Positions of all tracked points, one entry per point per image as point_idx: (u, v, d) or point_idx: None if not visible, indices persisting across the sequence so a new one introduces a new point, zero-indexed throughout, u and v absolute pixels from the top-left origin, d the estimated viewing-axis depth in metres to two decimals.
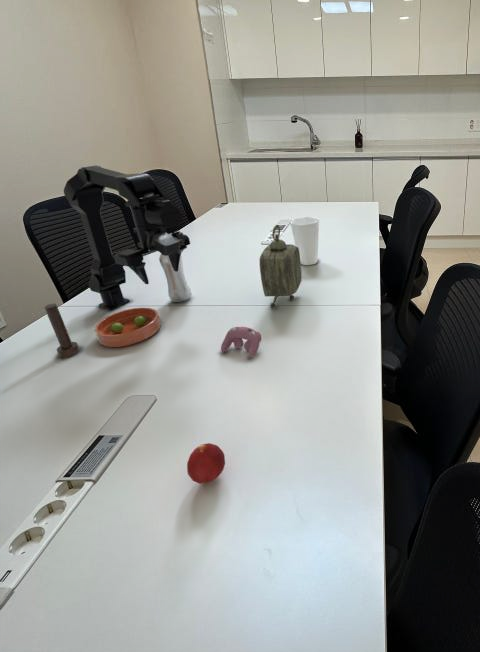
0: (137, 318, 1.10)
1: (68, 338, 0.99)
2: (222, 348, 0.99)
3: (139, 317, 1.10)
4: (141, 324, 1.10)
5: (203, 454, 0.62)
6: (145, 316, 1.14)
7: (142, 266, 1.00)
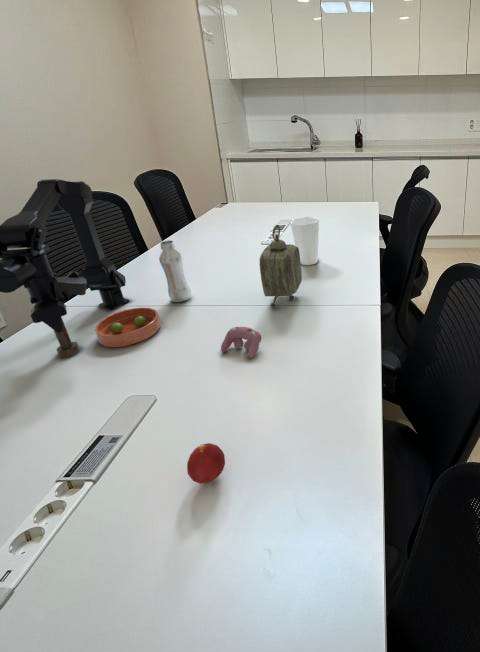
0: (137, 318, 1.10)
1: (68, 338, 0.99)
2: (222, 348, 0.99)
3: (139, 317, 1.10)
4: (141, 324, 1.10)
5: (203, 454, 0.62)
6: (145, 316, 1.14)
7: None
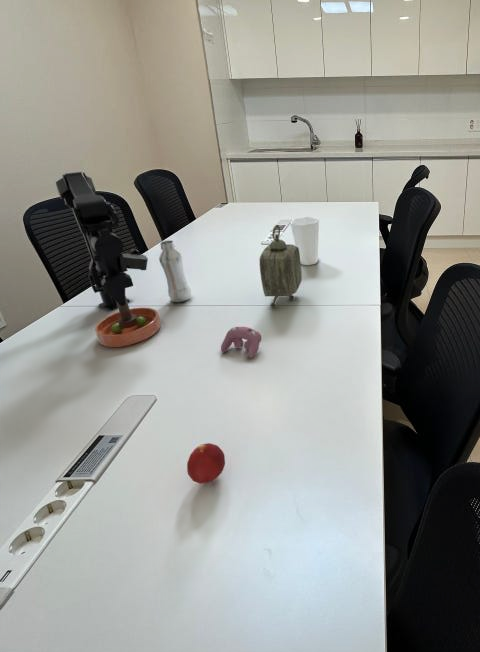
0: (138, 319, 1.10)
1: (129, 310, 1.06)
2: (222, 348, 0.99)
3: (140, 318, 1.10)
4: (142, 325, 1.10)
5: (203, 454, 0.62)
6: (145, 316, 1.14)
7: None
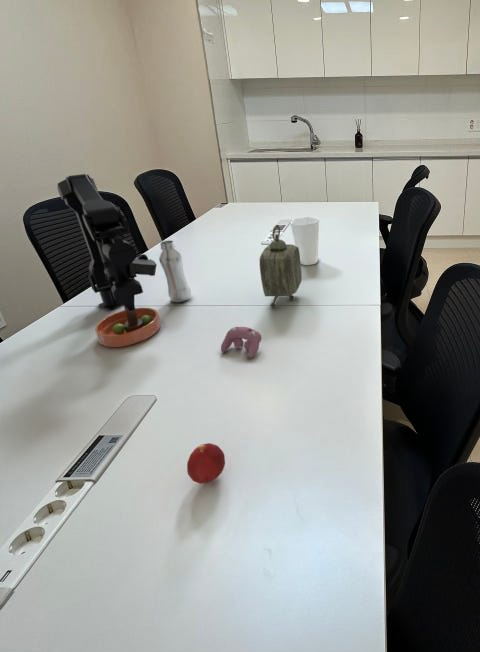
0: (147, 317, 1.11)
1: (136, 316, 1.07)
2: (222, 348, 0.99)
3: (149, 318, 1.11)
4: (144, 324, 1.10)
5: (203, 454, 0.62)
6: None
7: None
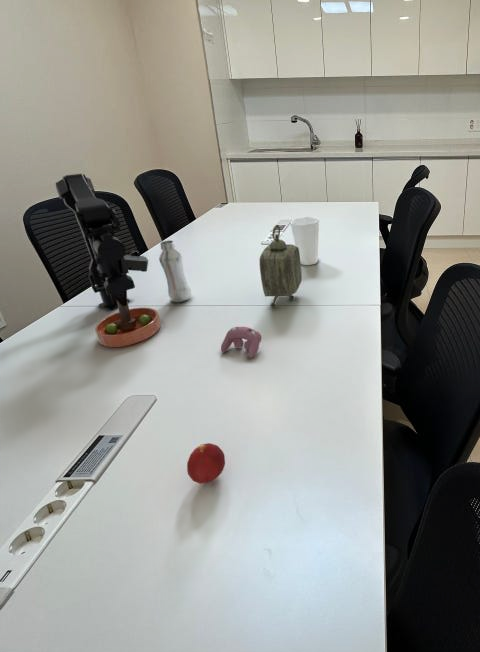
0: (145, 317, 1.11)
1: (128, 312, 1.08)
2: (222, 348, 0.99)
3: (147, 317, 1.11)
4: (142, 323, 1.11)
5: (203, 454, 0.62)
6: None
7: None
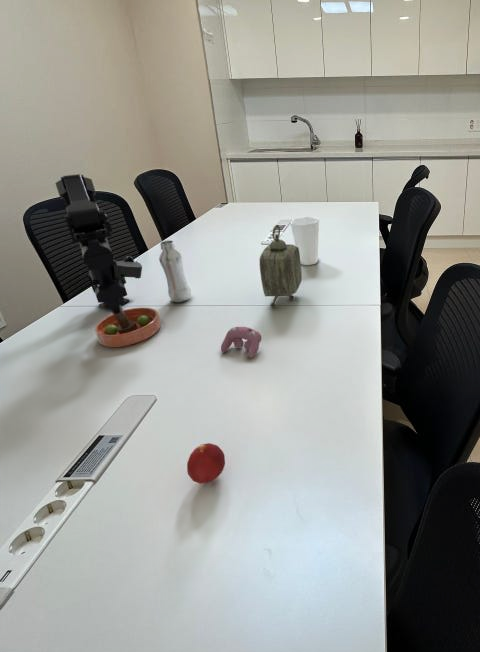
0: (142, 318, 1.10)
1: (125, 318, 1.05)
2: (222, 348, 0.99)
3: (144, 318, 1.10)
4: (142, 325, 1.10)
5: (203, 454, 0.62)
6: None
7: None
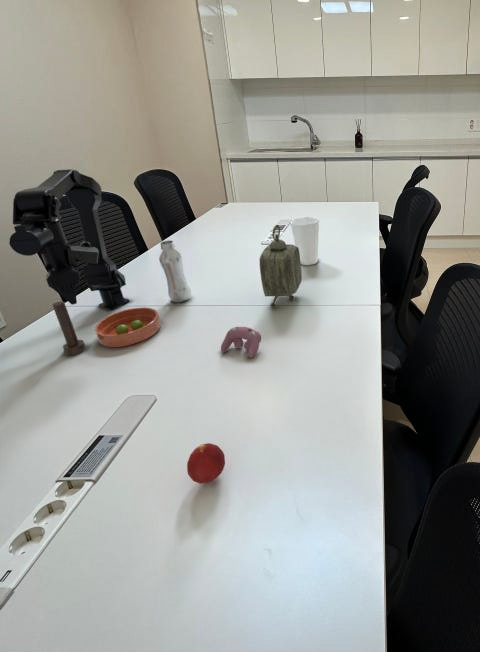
0: None
1: (74, 336, 1.00)
2: (222, 348, 0.99)
3: (133, 329, 1.08)
4: None
5: (203, 454, 0.62)
6: (145, 316, 1.14)
7: None
